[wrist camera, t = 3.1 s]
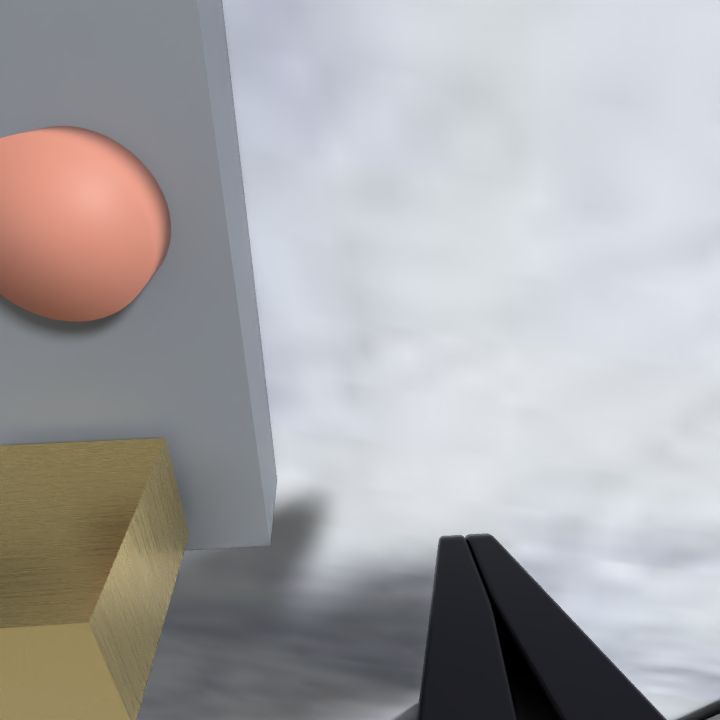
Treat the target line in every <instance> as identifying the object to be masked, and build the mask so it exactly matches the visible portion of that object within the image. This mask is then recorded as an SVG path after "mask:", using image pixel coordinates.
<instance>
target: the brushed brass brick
mask: <svg viewBox="0 0 720 720" xmlns="http://www.w3.org/2000/svg"><path fill="white" fill-rule="evenodd" d="M188 536H189V532H188V528H187V524H186V520H185V515H184V511H183V507H182V503H181V499H180V495H179V491H178V486H177V482H176V478H175V474H174V470H173V466H172V461H171V457H170V453H169V449H168V445H167V441H166V438H149V439H128V440H106V441H85V442H64V443H42V444H21V445H0V720H137V717H138V714H139V710H140V707H141V703H142V700H143V696H144V693H145V689H146V685H147V682H148V678H149V675H150V671H151V668H152V664H153V661H154V657H155V653H156V650H157V646H158V643H159V639H160V636H161V632H162V628H163V625H164V621H165V618H166V614H167V611H168V607H169V604H170V600H171V596H172V593H173V589H174V586H175V582H176V579H177V575H178V572H179V568H180V564H181V561H182V557H183V554H184V550H185V547H186V543H187V540H188Z"/></svg>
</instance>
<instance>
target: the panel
mask: <svg viewBox="0 0 720 720" xmlns="http://www.w3.org/2000/svg"><path fill="white" fill-rule="evenodd" d="M149 438H166V441H167V445H168V449H169V453H170V457H171V461H172V466H173V470H174V474H175V478H176V482H177V486H178V491H179V495H180V499H181V503H182V507H183V511H184V515H185V520H186V524H187V528H188V532H189V536H188V540H187V543H186V547H185V550H184V551H186V550H203V549H220V548H238V547H255V546H270V543H271V533H272V524H273V514H274V505H275V495H276V486H277V476H276V467H275V458H274V450H273V441H272V432H271V424H270V415H269V406H268V398H267V389H266V380H265V372H264V363H263V354H262V345H261V337H260V328H259V319H258V311H257V302H256V293H255V285H254V276H253V267H252V259H251V250H250V241H249V232H248V224H247V215H246V206H245V198H244V189H243V180H242V172H241V163H240V154H239V146H238V137H237V128H236V119H235V111H234V102H233V93H232V85H231V76H230V67H229V59H228V50H227V41H226V33H225V24H224V15H223V6H222V0H0V445H21V444H42V443H64V442H85V441H106V440H128V439H149Z"/></svg>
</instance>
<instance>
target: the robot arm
mask: <svg viewBox="0 0 720 720" xmlns="http://www.w3.org/2000/svg"><path fill="white" fill-rule="evenodd" d="M417 720H666V718H665V717H664V716H663V715H662V714H661V713H660V712H659V711H658V710H657V709H656V708H655V707H654V706H653V705H652V704H651V703H650V702H649V700H648V699H647V698H646V697H645V696H644V695H643V694H642V693H641V692H640V691H639V690H638V689H637V688H636V687H635V686H634V685H633V684H632V683H631V681H630V680H629V679H628V678H627V677H626V676H625V675H624V674H623V673H622V672H621V671H620V670H619V669H618V668H617V667H616V666H615V665H614V663H613V662H612V661H611V660H610V659H609V658H608V657H607V656H606V655H605V654H604V653H603V652H602V651H601V650H600V649H599V648H598V647H597V645H596V644H595V643H594V642H593V641H592V640H591V639H590V638H589V637H588V636H587V635H586V634H585V633H584V632H583V631H582V630H581V629H580V628H579V626H578V625H577V624H576V623H575V622H574V621H573V620H572V619H571V618H570V617H569V616H568V615H567V614H566V613H565V612H564V611H563V610H562V608H561V607H560V606H559V605H558V604H557V603H556V602H555V601H554V600H553V599H552V598H551V597H550V596H549V595H548V594H547V593H546V592H545V591H544V589H543V588H542V587H541V586H540V585H539V584H538V583H537V582H536V581H535V580H534V579H533V578H532V577H531V576H530V575H529V574H528V573H527V571H526V570H525V569H524V568H523V567H522V566H521V565H520V564H519V563H518V562H517V561H516V560H515V559H514V558H513V557H512V556H511V555H510V553H509V552H508V551H507V550H506V549H505V548H504V547H503V546H502V545H501V544H500V543H499V542H498V541H497V540H496V539H495V538H494V537H493V536H492V535H490V534H469V535H467V536H466V537H464V536H462V535H452V536H441V537H440V538H439V543H438V551H437V559H436V567H435V575H434V584H433V592H432V600H431V608H430V616H429V625H428V633H427V641H426V649H425V657H424V666H423V674H422V682H421V690H420V698H419V707H418V715H417Z"/></svg>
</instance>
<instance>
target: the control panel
mask: <svg viewBox="0 0 720 720" xmlns="http://www.w3.org/2000/svg"><path fill="white" fill-rule="evenodd" d="M707 720H720V714H717V715H715V716H713V717H711V718H709V719H707Z"/></svg>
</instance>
